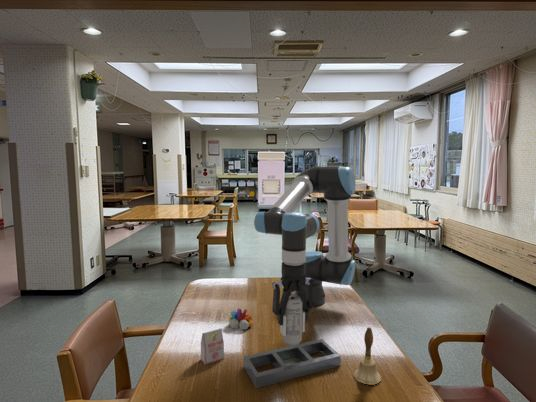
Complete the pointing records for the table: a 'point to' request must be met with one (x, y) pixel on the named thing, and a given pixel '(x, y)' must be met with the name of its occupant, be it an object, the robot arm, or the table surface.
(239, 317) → the rainbow disc toy
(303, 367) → the rack
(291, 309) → the energy drink can
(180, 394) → the table surface
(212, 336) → the white printed box
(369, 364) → the hand bell
